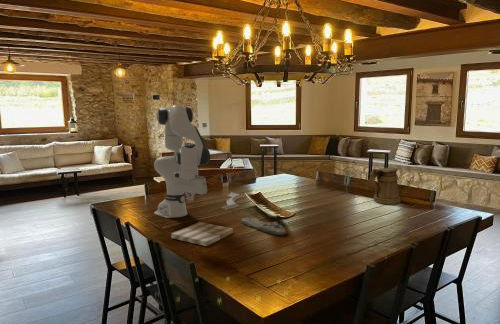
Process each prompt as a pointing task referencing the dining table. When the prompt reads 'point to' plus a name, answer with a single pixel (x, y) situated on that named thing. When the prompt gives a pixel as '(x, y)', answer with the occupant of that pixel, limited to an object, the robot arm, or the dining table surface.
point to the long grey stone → (265, 226)
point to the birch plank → (195, 236)
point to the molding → (232, 201)
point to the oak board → (212, 229)
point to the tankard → (385, 186)
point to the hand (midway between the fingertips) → (190, 200)
